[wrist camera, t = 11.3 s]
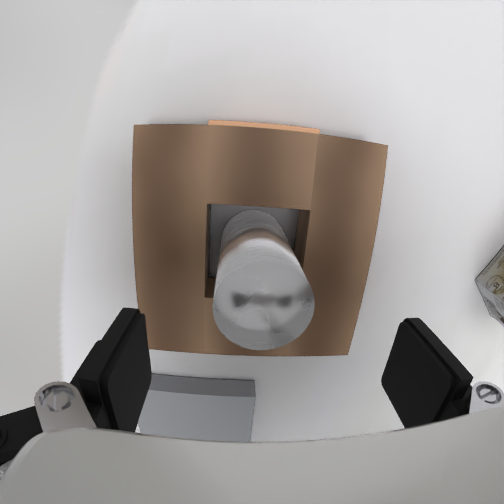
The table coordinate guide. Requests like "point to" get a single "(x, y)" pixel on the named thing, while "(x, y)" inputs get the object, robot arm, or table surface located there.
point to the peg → (260, 284)
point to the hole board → (251, 194)
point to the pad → (198, 408)
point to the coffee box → (493, 286)
